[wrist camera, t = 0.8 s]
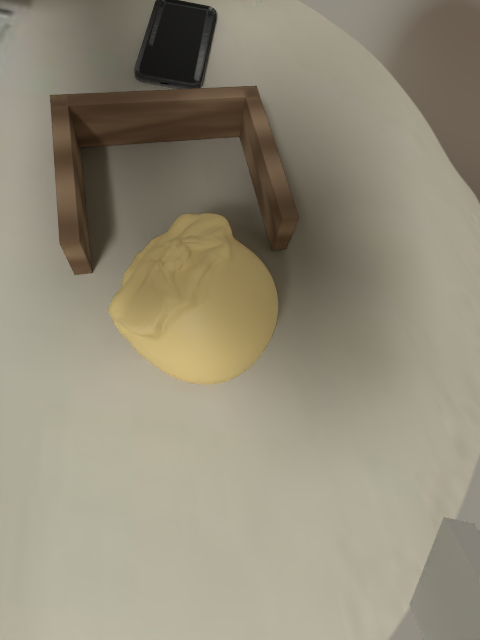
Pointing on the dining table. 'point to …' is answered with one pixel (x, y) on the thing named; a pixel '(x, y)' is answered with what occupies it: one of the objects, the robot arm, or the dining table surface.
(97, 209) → the dining table surface
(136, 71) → the phone
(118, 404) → the dining table surface
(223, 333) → the sculpture
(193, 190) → the dining table surface
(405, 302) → the dining table surface
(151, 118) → the bay
